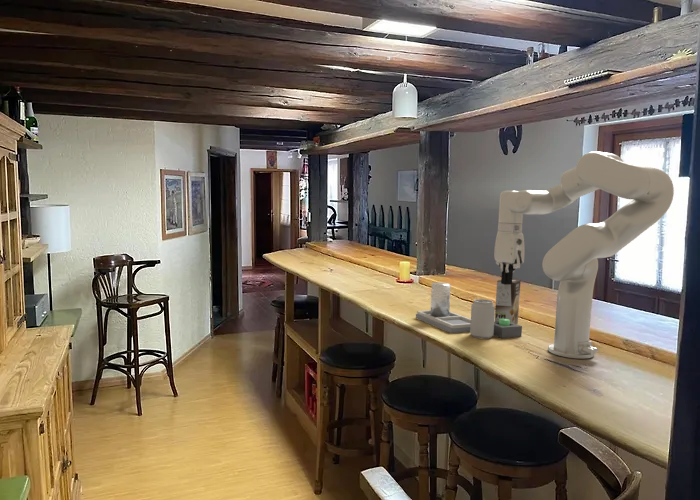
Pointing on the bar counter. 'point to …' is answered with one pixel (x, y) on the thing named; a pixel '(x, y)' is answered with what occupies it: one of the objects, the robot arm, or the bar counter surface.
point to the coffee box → (507, 301)
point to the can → (482, 318)
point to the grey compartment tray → (446, 321)
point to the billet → (440, 299)
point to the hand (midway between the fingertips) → (506, 283)
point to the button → (504, 322)
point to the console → (507, 330)
